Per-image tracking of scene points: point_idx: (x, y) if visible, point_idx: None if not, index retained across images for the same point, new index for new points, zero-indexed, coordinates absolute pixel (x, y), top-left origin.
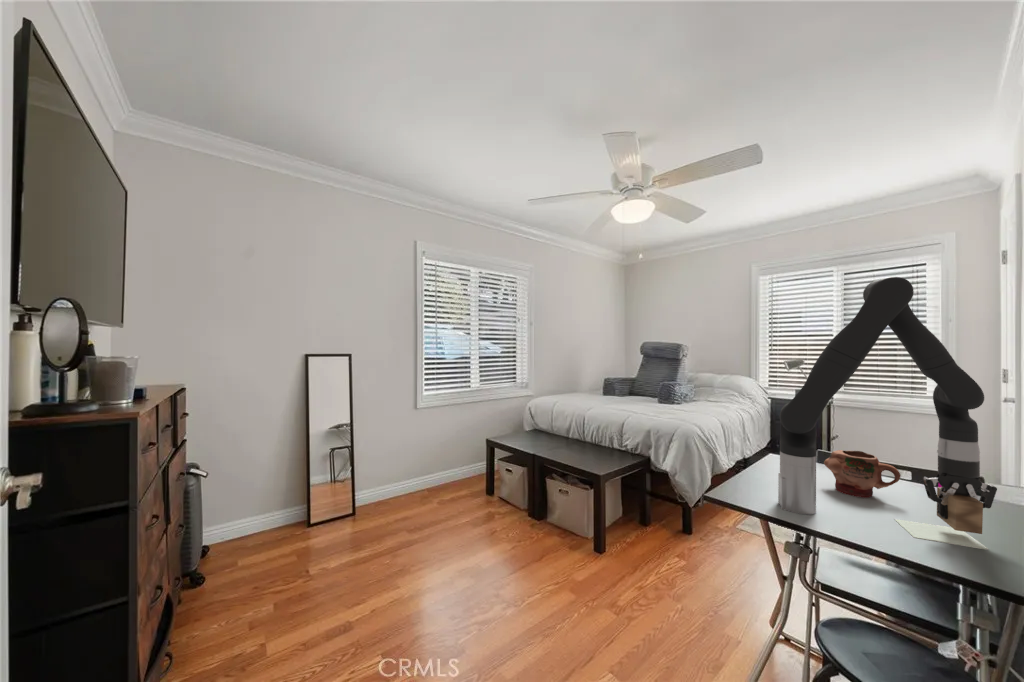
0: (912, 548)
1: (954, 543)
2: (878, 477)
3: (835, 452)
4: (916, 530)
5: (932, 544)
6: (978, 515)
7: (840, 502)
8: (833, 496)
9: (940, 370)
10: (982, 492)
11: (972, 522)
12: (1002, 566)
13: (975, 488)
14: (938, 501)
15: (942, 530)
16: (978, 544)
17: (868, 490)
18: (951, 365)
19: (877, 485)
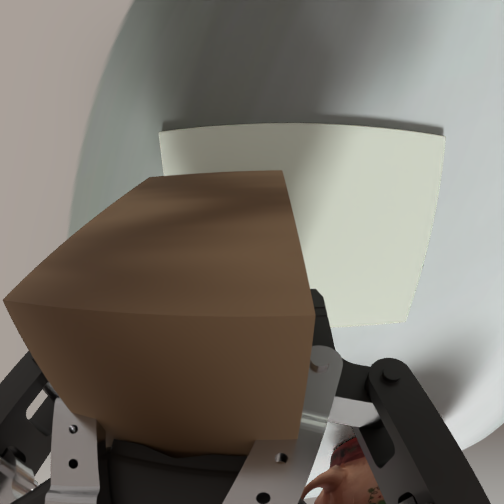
0: (480, 27)
1: (294, 123)
2: (339, 495)
3: None
4: (395, 229)
5: (396, 88)
6: (111, 222)
7: (459, 379)
8: (443, 407)
9: None
10: (41, 459)
11: (175, 192)
12: None
13: (43, 499)
14: (350, 374)
15: None
16: (181, 169)
17: (363, 453)
18: None
19: (341, 473)
